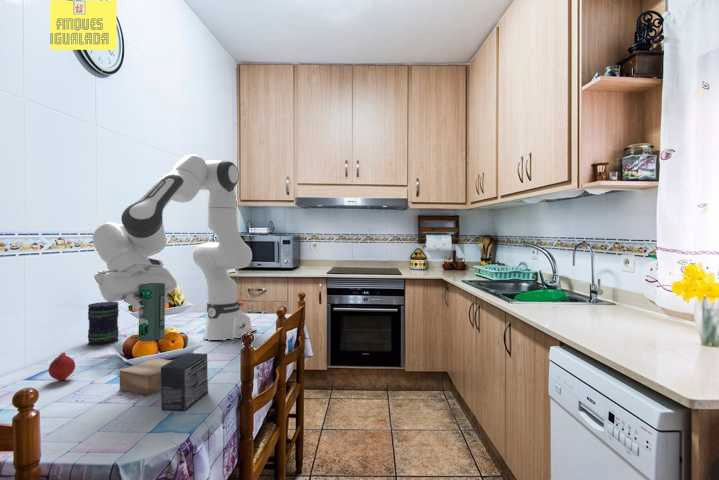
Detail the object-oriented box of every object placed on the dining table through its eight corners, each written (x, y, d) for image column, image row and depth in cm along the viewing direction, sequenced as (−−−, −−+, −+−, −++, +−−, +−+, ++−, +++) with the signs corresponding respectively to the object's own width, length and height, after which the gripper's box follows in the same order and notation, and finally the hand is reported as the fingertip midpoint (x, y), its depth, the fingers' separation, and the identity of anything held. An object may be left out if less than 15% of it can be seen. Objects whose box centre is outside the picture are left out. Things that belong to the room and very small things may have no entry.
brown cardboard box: (156, 374, 108) (156, 357, 108) (183, 380, 104) (183, 362, 104) (119, 388, 98) (119, 370, 98) (148, 395, 93) (148, 376, 93)
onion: (59, 385, 100) (59, 356, 100) (43, 384, 101) (43, 355, 101) (80, 377, 105) (80, 350, 105) (64, 376, 106) (64, 349, 106)
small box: (185, 391, 96) (185, 352, 96) (209, 392, 95) (209, 353, 95) (159, 410, 86) (159, 366, 85) (185, 412, 85) (185, 367, 85)
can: (141, 336, 102) (141, 283, 102) (165, 334, 105) (165, 282, 105) (137, 342, 97) (137, 285, 97) (163, 340, 99) (163, 284, 99)
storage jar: (91, 340, 144) (92, 302, 144) (121, 337, 148) (121, 301, 148) (84, 347, 135) (84, 307, 135) (115, 344, 139) (115, 305, 139)
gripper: (97, 264, 94) (122, 304, 90) (166, 260, 113) (189, 293, 109) (85, 280, 95) (110, 321, 92) (155, 274, 114) (178, 307, 111)
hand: (153, 306), depth 100 cm, fingers closed on can, 6 cm apart
